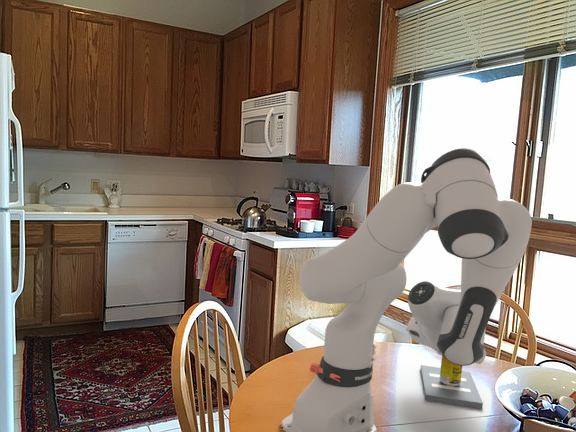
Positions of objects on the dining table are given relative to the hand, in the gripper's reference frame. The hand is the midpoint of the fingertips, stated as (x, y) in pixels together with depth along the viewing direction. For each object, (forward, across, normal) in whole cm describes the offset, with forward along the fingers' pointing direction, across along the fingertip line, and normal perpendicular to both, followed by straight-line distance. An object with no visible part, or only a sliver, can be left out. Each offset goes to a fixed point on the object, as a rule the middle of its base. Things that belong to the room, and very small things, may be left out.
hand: (453, 357), depth 133 cm
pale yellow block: (+5, +28, +8) cm, 30 cm away
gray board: (+6, 0, +6) cm, 9 cm away
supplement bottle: (+5, 0, +6) cm, 7 cm away
